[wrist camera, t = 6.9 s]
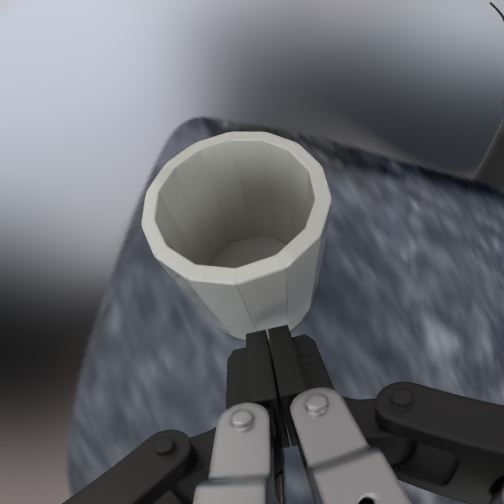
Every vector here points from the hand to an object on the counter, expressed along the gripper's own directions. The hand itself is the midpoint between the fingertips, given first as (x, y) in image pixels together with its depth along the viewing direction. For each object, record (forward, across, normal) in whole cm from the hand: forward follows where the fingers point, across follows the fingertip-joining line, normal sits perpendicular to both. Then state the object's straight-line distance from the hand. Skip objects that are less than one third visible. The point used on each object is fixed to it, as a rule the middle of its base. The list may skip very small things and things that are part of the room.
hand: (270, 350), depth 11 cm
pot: (+6, 0, 0) cm, 6 cm away
